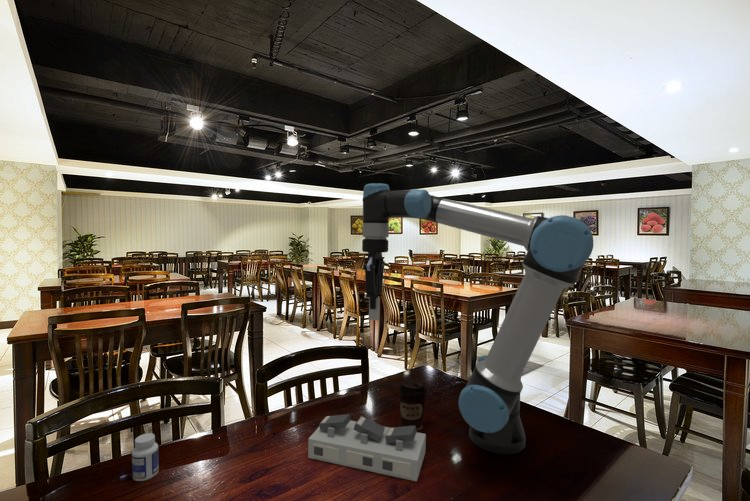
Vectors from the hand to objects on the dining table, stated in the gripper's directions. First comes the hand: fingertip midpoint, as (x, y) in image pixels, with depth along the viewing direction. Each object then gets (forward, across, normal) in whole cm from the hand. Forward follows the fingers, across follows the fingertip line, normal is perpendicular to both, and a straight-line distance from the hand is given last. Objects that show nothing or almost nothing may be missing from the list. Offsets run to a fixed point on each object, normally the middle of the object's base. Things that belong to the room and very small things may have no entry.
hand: (373, 319), depth 107 cm
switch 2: (+26, +13, +3) cm, 30 cm away
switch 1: (+26, +13, -6) cm, 30 cm away
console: (+32, +13, +3) cm, 35 cm away
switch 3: (+26, +13, +12) cm, 32 cm away
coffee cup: (+33, -5, +11) cm, 35 cm away
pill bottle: (+33, +37, -44) cm, 66 cm away
